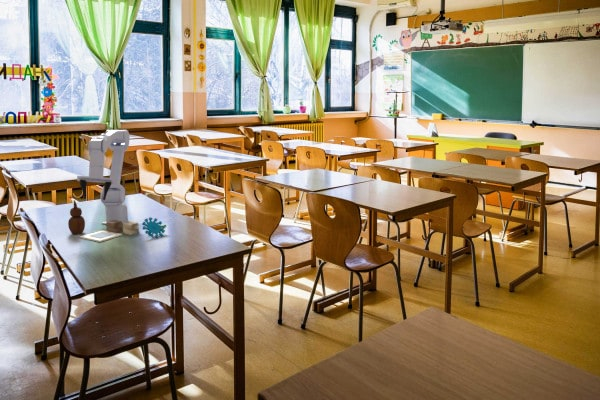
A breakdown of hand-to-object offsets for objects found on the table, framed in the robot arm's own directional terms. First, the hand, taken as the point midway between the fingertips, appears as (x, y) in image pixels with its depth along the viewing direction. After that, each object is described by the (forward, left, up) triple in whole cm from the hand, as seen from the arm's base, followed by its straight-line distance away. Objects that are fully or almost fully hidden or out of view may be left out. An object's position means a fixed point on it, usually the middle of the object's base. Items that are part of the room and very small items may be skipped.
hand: (94, 199), depth 232 cm
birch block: (-11, +8, -16) cm, 21 cm away
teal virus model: (-13, +20, -16) cm, 29 cm away
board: (0, +2, -16) cm, 16 cm away
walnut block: (-9, 0, -16) cm, 19 cm away
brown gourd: (+1, -11, -16) cm, 19 cm away
